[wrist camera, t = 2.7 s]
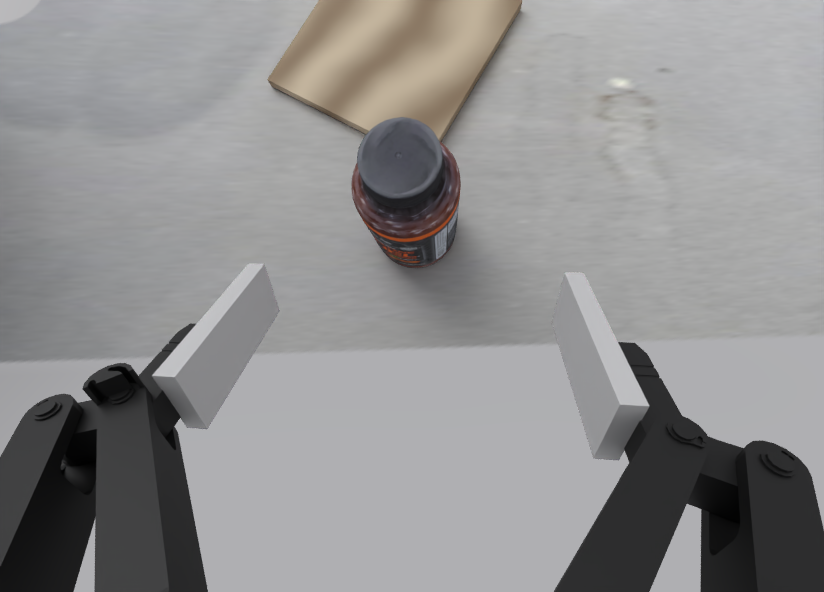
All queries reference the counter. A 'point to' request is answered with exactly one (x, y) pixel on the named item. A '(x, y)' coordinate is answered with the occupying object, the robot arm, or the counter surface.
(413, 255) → the supplement bottle
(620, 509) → the robot arm
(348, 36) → the oak pad
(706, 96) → the counter surface
